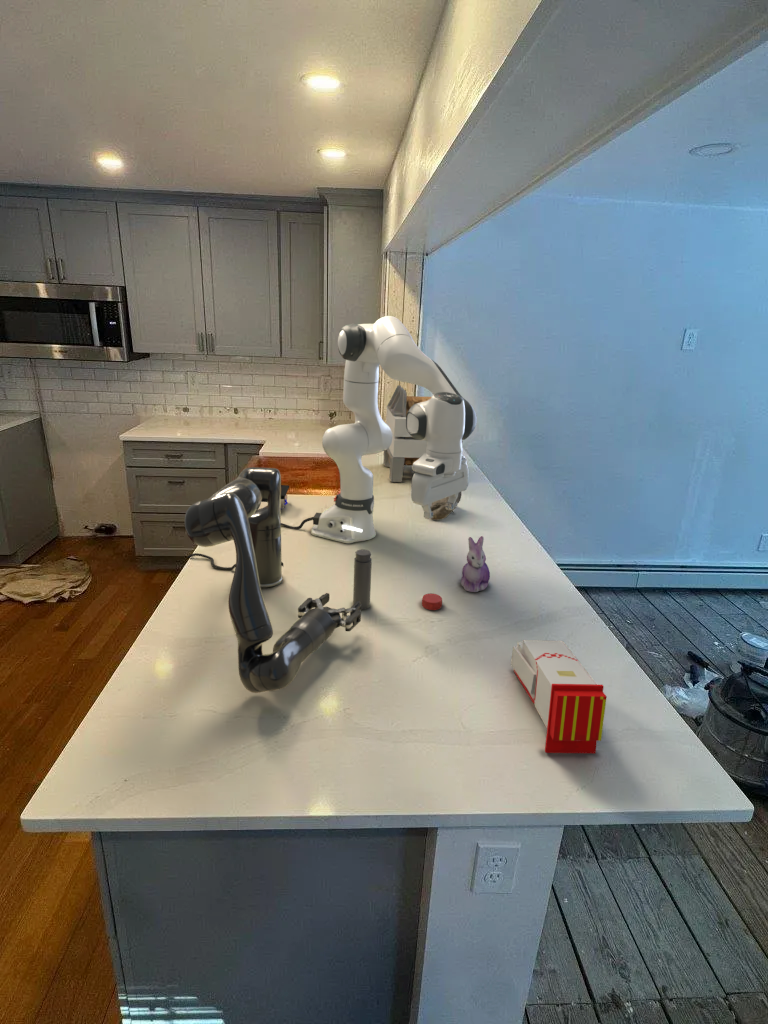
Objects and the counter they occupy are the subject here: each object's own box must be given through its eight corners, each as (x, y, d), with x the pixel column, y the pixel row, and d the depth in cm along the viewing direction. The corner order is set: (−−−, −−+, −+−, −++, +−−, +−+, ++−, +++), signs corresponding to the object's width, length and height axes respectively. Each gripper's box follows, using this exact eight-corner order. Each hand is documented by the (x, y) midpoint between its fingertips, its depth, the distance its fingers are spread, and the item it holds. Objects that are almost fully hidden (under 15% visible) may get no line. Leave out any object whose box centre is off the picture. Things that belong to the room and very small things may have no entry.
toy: (559, 623, 127) (616, 692, 98) (553, 678, 130) (607, 761, 101) (505, 622, 127) (547, 691, 98) (501, 677, 130) (540, 760, 100)
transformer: (382, 463, 289) (386, 382, 275) (445, 464, 293) (451, 384, 279) (390, 482, 257) (394, 392, 243) (460, 483, 261) (468, 394, 247)
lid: (429, 612, 149) (429, 604, 148) (417, 603, 153) (418, 595, 153) (445, 607, 152) (446, 600, 151) (434, 598, 156) (434, 591, 155)
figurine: (471, 596, 158) (477, 546, 153) (451, 580, 166) (455, 533, 161) (498, 590, 162) (504, 541, 157) (477, 575, 171) (482, 529, 166)
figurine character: (285, 517, 214) (290, 500, 227) (284, 499, 210) (289, 483, 224) (267, 517, 213) (273, 500, 227) (266, 498, 210) (272, 482, 223)
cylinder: (370, 601, 153) (372, 549, 148) (369, 609, 149) (371, 556, 144) (353, 600, 153) (354, 548, 148) (352, 609, 149) (354, 555, 144)
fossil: (424, 492, 232) (454, 472, 227) (437, 509, 235) (468, 490, 230) (422, 516, 212) (456, 495, 207) (437, 534, 215) (470, 514, 210)
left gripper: (338, 625, 121) (370, 593, 136) (282, 609, 127) (318, 580, 141) (338, 655, 124) (369, 620, 138) (282, 638, 129) (318, 607, 143)
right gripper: (456, 451, 148) (451, 501, 153) (408, 465, 134) (404, 520, 138) (476, 456, 145) (471, 507, 149) (429, 470, 130) (425, 527, 134)
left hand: (343, 600), depth 139 cm, fingers open, 8 cm apart
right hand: (439, 513), depth 144 cm, fingers open, 8 cm apart
